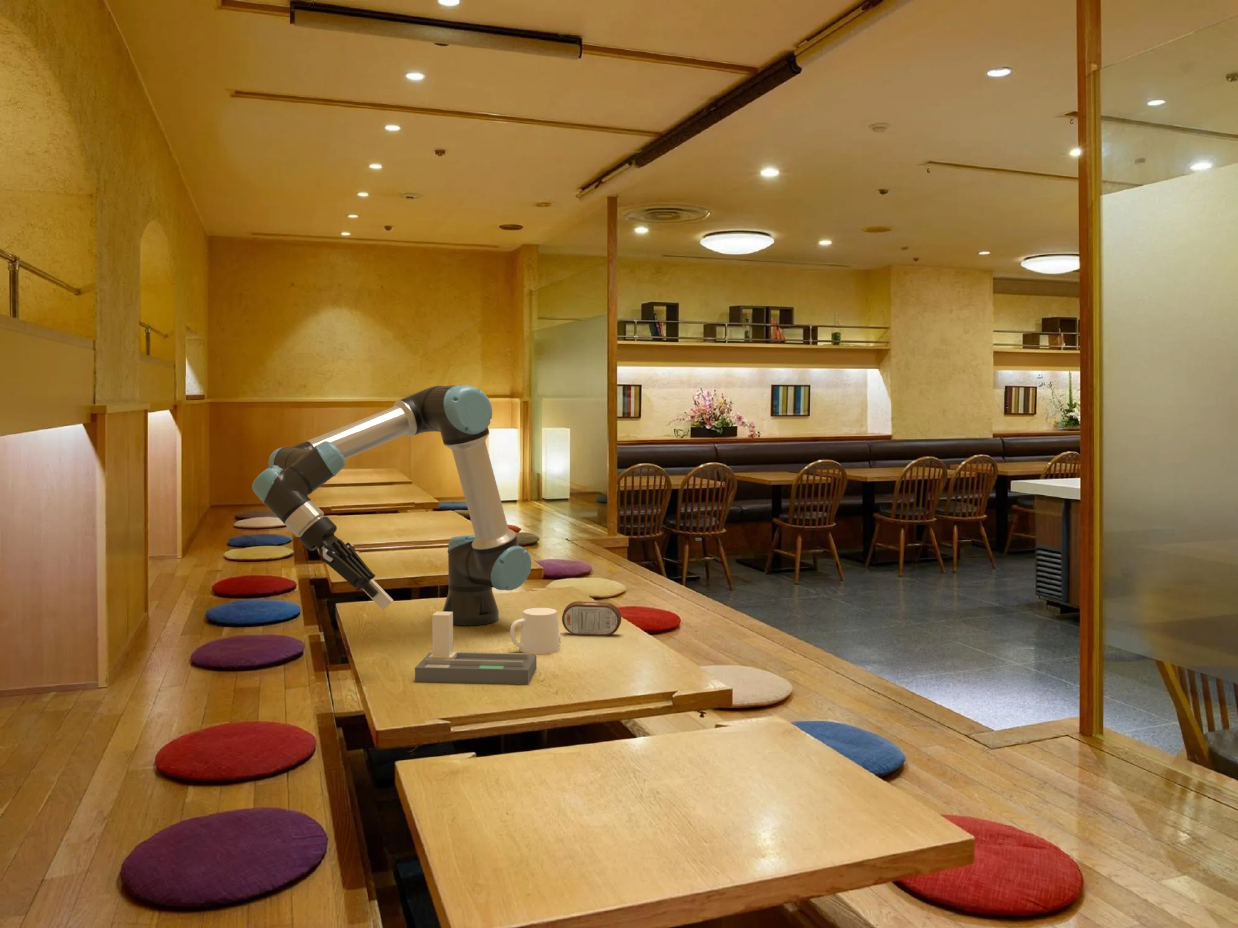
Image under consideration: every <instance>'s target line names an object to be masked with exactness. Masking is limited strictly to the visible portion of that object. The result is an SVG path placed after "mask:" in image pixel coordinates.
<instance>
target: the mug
mask: <svg viewBox="0 0 1238 928" xmlns="http://www.w3.org/2000/svg"><path fill="white" fill-rule="evenodd" d="M520 624H521V630H520V637H519V638H520V639H519V643H518V641H517V639H516V632H515V631H516V627H517V626H518V625H520ZM559 632H560V629H559V620H558V611H557V610H556V609H554V608H549V607H533V608H527V609H525V610H523V613H522V618H519V619H516V620H514V621H513V622H511V626H510V631H509V636H510V639H511V641H512V644H514V645H515V646H516V647H517V648H518V649H519V652H520V653H522V652H523V653H528V655H545V653H547V654H551V653H550V652H553V653H556V652H558V651H560V646H561V645H560V644H561V638H562V636H561V633H559ZM557 650H558V651H557ZM555 651H556V652H555Z"/></svg>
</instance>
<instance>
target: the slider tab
mask: <svg viewBox="0 0 1238 928" xmlns="http://www.w3.org/2000/svg"><path fill="white" fill-rule="evenodd" d="M431 616H432V617H431V621H432V633H431V634H432V638H431V639H432V652H433V653H432V652H431V653H432V654H431V655H430V656H429V659H455V658H456V657H457V652H458V651H454V625H453V612H442V611H440V610H439V611H437V610H436V611H435V612H434V613H433V614H432V615H431Z"/></svg>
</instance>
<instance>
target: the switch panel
mask: <svg viewBox="0 0 1238 928" xmlns="http://www.w3.org/2000/svg"><path fill="white" fill-rule="evenodd" d="M456 652H457V657H456V658H455V659H429V656H430V655H431V654H432V653H433V651H432V652H429V653H427V655H425V657H423V659H422V660H421V661H420V662H418V664H417V665H416V666H415V667H414V683H416V682H417V683H419V682H420V683H455V684H456V683H457V684H492V685H494V684H499V685H505V684H506V685H510V684H511V685H529V684H530V682H531V679H532V677H533V676H534V674H535V672H536V670H537V654H528V653H522V652H518V653H517V652H482V651H481V652H477V651H474V652H473V651H456ZM529 681H530V682H529ZM528 683H529V684H528Z"/></svg>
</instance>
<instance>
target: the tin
mask: <svg viewBox="0 0 1238 928" xmlns="http://www.w3.org/2000/svg"><path fill="white" fill-rule="evenodd" d="M561 620H562V621H561V623H562V625H563V627H564V629H565V630H566V631H567V632H568V633H570V634H571V635H575V636H587V635H588V636H592V637H593V636H595V637H610V636H611V635H613V634H615V632H617V631H618V630H619V627H620V626H621V624H622V614H621V612H620V609H619V608H618V607H617V606H615V605H614V604H613V603H611V602H604V601H603V602H602V601H583V600H582V601H581V600H579V601H578V600H577V601H573V602H571V603H569V604H567V605H566V606H565V608H564V610H563V613H562V615H561Z"/></svg>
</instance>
